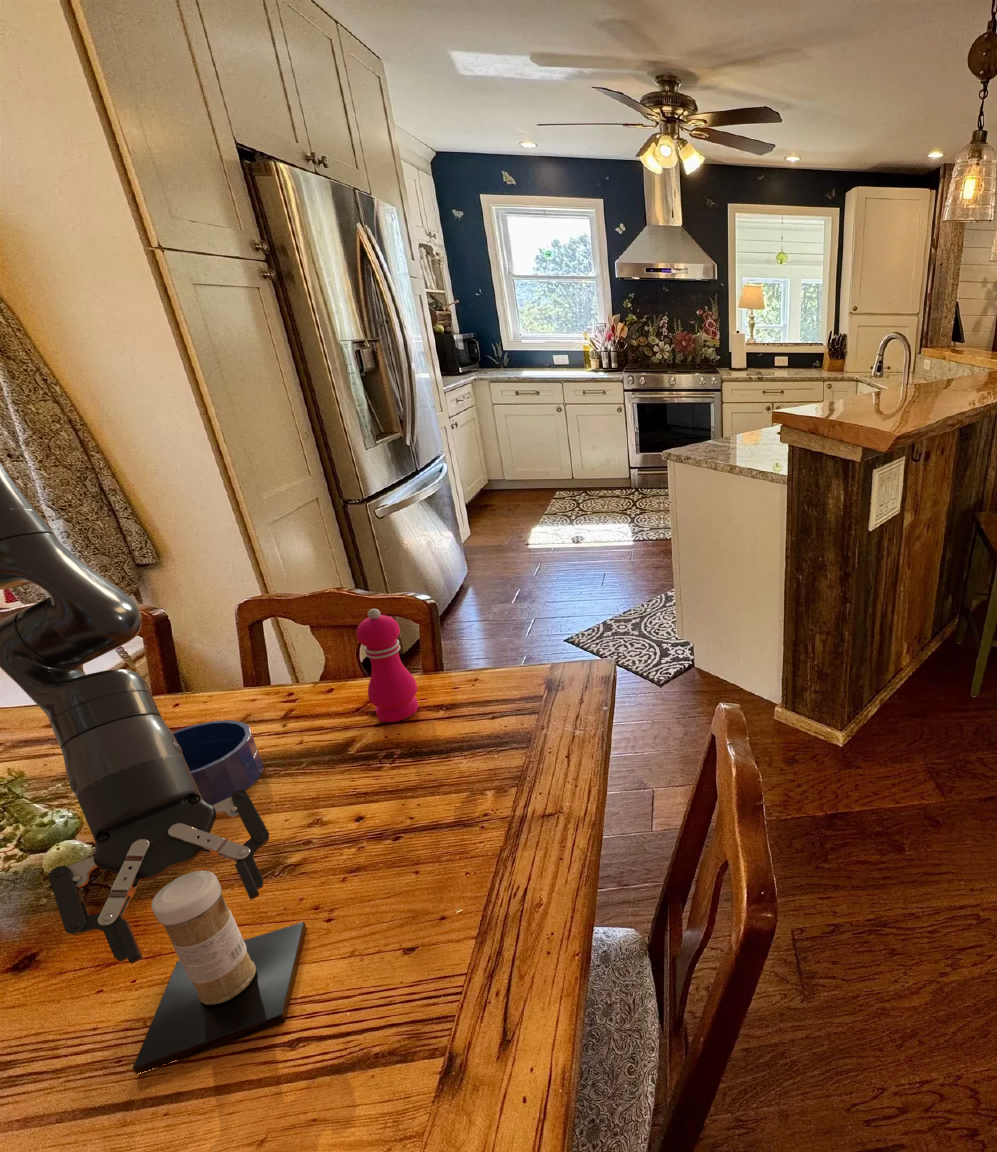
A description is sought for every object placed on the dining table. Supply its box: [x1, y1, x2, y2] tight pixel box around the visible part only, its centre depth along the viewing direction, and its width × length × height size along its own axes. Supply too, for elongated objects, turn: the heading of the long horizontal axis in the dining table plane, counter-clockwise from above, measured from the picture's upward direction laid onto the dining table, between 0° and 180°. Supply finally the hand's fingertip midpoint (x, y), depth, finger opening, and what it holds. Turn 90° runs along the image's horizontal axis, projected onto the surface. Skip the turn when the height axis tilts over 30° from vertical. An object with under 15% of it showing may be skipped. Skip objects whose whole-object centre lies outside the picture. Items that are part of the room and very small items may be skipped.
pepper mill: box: [356, 608, 419, 723], centre depth 102 cm, size 7×7×20 cm
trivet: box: [132, 921, 308, 1075], centre depth 62 cm, size 11×11×1 cm
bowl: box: [171, 719, 264, 806], centre depth 88 cm, size 13×13×6 cm
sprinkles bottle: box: [150, 870, 256, 1005], centre depth 59 cm, size 5×5×14 cm
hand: (198, 927), depth 57 cm, fingers open, 8 cm apart
